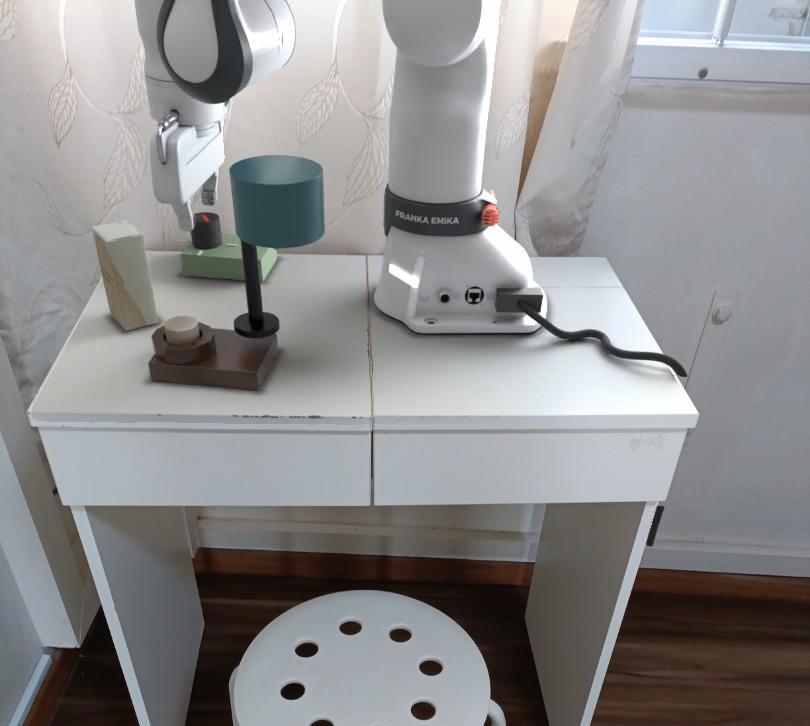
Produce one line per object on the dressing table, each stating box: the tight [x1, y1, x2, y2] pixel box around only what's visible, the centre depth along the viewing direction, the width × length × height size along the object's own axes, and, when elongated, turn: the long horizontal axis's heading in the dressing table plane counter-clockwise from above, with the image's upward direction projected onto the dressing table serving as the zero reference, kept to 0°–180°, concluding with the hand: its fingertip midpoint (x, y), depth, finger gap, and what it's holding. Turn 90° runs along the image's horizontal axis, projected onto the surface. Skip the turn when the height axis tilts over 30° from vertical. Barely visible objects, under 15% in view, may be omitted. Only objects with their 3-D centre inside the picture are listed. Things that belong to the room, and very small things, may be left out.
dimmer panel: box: [177, 233, 278, 283], centre depth 109 cm, size 13×8×3 cm, turn 83°
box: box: [91, 219, 159, 332], centre depth 94 cm, size 5×4×11 cm
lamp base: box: [147, 321, 279, 391], centre depth 89 cm, size 12×9×4 cm
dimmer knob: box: [190, 211, 222, 249], centre depth 107 cm, size 4×4×4 cm
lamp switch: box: [163, 315, 200, 344], centre depth 87 cm, size 4×4×2 cm
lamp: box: [228, 154, 326, 338], centre depth 83 cm, size 10×9×17 cm
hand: (199, 216), depth 106 cm, fingers open, 8 cm apart
